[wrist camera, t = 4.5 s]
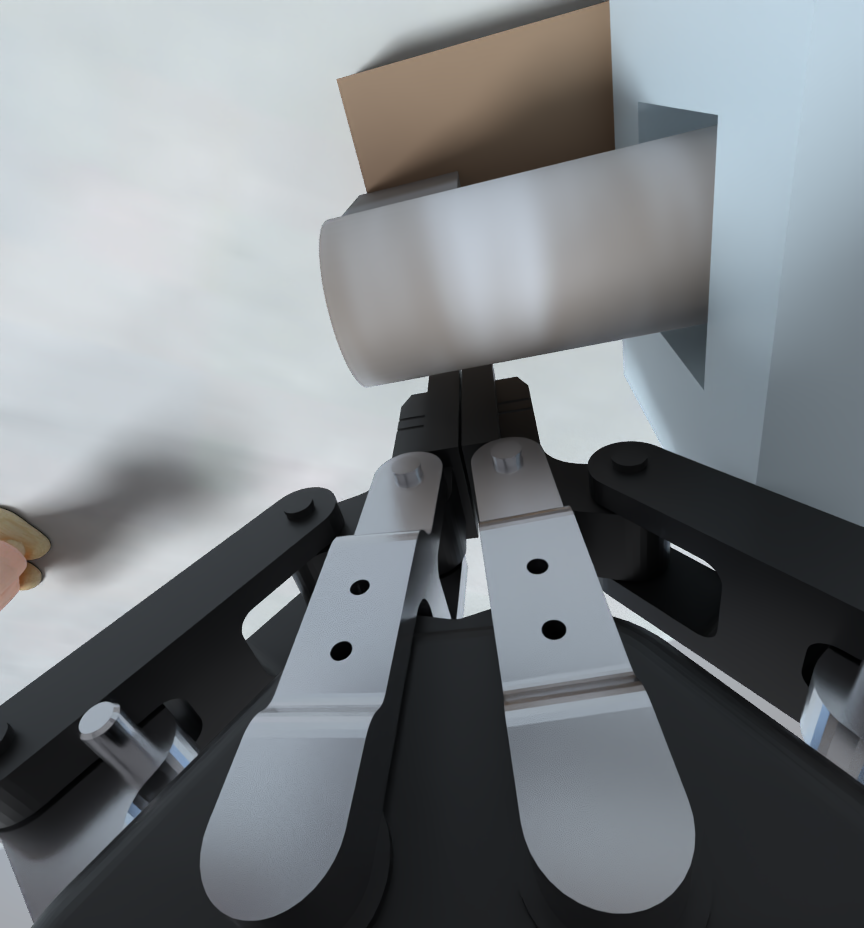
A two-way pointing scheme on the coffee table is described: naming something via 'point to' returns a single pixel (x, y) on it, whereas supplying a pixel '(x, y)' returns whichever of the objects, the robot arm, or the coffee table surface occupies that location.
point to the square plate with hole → (760, 237)
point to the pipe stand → (510, 209)
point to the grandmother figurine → (18, 555)
